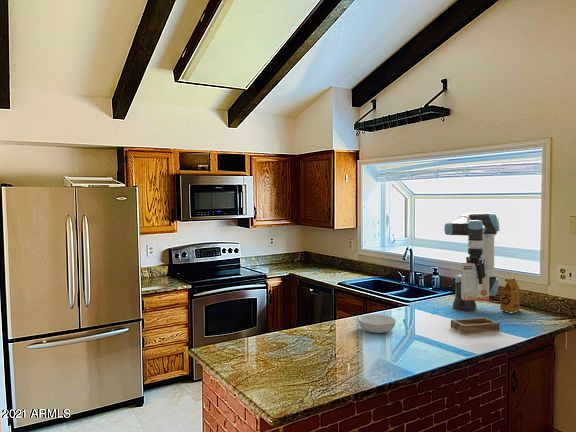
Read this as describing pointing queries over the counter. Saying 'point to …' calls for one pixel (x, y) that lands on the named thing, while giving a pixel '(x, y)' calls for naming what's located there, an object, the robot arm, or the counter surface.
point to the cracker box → (473, 283)
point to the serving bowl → (377, 323)
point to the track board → (475, 326)
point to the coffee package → (510, 296)
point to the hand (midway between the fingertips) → (475, 288)
